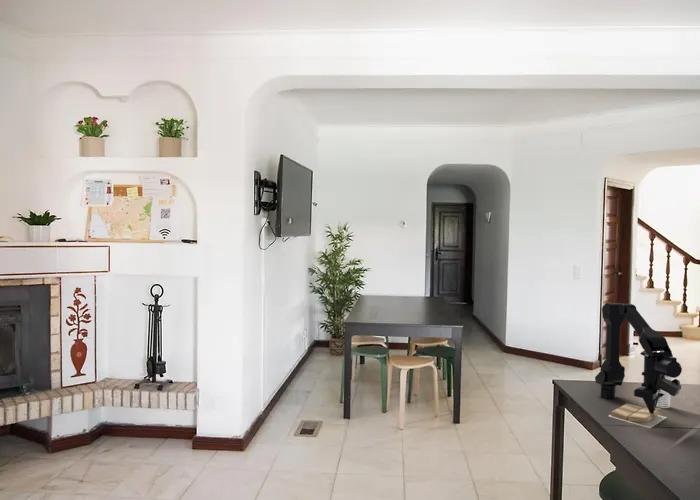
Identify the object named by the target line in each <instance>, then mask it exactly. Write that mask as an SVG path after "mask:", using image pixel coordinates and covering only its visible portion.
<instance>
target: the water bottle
mask: <svg viewBox="0 0 700 500" xmlns="http://www.w3.org/2000/svg"><path fill="white" fill-rule="evenodd" d="M663 352H664V351H663ZM665 378H666V379H668V380H671V381H672V379H673V378H672V377H669V376H666V375H665ZM660 393H662V394H665V395H664V396H662V397H661V398H659V400H658V403H657V405H656V408H659V409H669V408H670V407H671V396H672V395H670V394H669V393H667V392H665V391H663V390H662V389H661V390H660Z"/></svg>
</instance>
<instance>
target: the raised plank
mask: <svg viewBox="0 0 700 500" xmlns="http://www.w3.org/2000/svg"><path fill="white" fill-rule="evenodd" d="M660 414H662V408H658V407H656V408H655V411H654V413H650V412H649V410H648V408H647V407H642V409H640V410H639V411H637V412H635V413H633V414H632V415H630V416H628V421H637V422H648V421H649V420H651V419H653V418H654V417H656V416H657V415H660Z"/></svg>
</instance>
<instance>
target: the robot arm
mask: <svg viewBox="0 0 700 500" xmlns="http://www.w3.org/2000/svg"><path fill="white" fill-rule="evenodd" d="M601 313H602V319H603V321H604V323H605V324H606V336H605V339H606V342H605V360H604V361H603V362H602V363H601V366H600V371H599V372H598V373H597V374H596V375H595V377H594V381H595V383H597V384H598V385H599V386H600V388H599V389H600V390H599V397H600V398H602V399H605V400H615V399H616V395H617V392H616V391H617V386H621V387H622V385H623V382H624V379H625V377H626V375H625V373H626V372H625V370H626V368H625V365H624V366H623V365H622V364H621V362H620V353H621V352H620V351H621V349H620V348H621V347H620V346H621V327H622V324H623V323H624V322H625V320H627V322H628V323H629V324H630V325H631V327H632V329H634V332H636V334H637V335H638V342H639V344H640V346H641V348H642V349H643V351H641V352H640V355H641V356H643V358H644V359H643V371H642V372H641V376H643V382H642V383H641V384H640V385H641V386H638V387H636V388H635V389H633V396H634V397H637V398H642V399H643V402H644V404H645V406H646V408H648V410H649V412H650V413H654V411H655V408H657V407H656V405H657V403H658V400H659V398H661V397H662V396H664V395H665V394H662V393H660V390H661V389H662V390H663V391H665V392H667V393H669V394H670V395H671V396H672V397H676V396H677V395H678V394H679V393H680V390H682V385H681V381H680V380H679V379H677V378H678V377H680V375H681V374H682V371H683V369H682V365H681V363H680V362H678V359H677V357H675V356H674V355H673V353H672V352H673V351H672V350H671V348H670V346H669V344H668V342H667V339H666V338H665V336H663V334H662V333H661V332H659V331H657V330H655V329H653V328H652V327H651V326H650V325H649V323H648V322H647V320H645V318H644V317H643V316H642V315H641V313H640V312H639V311H638V310H637V307H636V305H635V304H632V303H619V302H618V303H613V302H612V303H611V302H607V303H604V304H603V305H602V308H601ZM663 351H664V352H663ZM665 375H666V376H669V377H672V379H673V380H672V381H671V380H668V379H666V378H665Z"/></svg>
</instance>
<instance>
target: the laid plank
mask: <svg viewBox="0 0 700 500" xmlns="http://www.w3.org/2000/svg"><path fill="white" fill-rule="evenodd" d="M642 408H643V407H641V406H638V405H635V404H630V403H625V404H623V405H621V406H619V407H617V408H616V409H614V410H611V411H610V415H611V416H613V417H617V418H620V419H623V420H628V416H630V415H632V414H633V413H635V412H637V411H639V410H640V409H642ZM613 417H612V418H613ZM620 419H619V420H620ZM623 420H622V421H623Z"/></svg>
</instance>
